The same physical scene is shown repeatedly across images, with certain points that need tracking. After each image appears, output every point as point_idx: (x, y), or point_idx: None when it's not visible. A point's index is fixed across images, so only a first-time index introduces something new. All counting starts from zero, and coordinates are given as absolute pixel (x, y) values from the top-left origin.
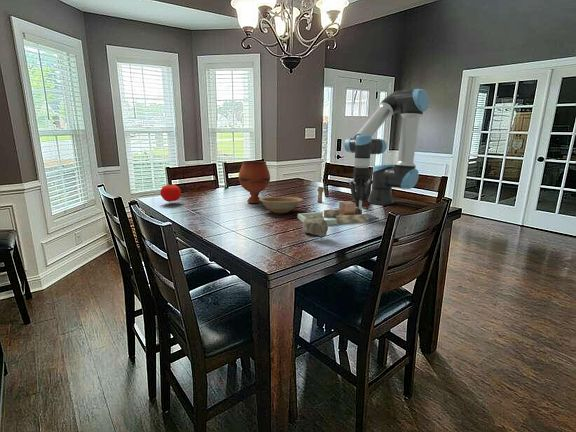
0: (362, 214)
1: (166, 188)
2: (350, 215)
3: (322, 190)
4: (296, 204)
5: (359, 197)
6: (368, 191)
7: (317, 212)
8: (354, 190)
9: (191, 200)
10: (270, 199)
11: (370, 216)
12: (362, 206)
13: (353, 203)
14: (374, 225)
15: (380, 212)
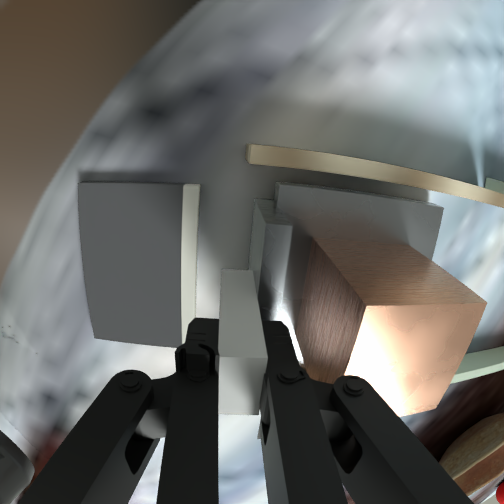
0: (292, 164)
1: None
2: (427, 181)
3: None
4: (483, 442)
5: (280, 407)
6: (55, 476)
7: (463, 377)
8: (439, 500)
9: (486, 490)
10: (468, 487)
11: (120, 250)
12: (197, 320)
13: (400, 305)
14: (260, 10)
15: (5, 339)
